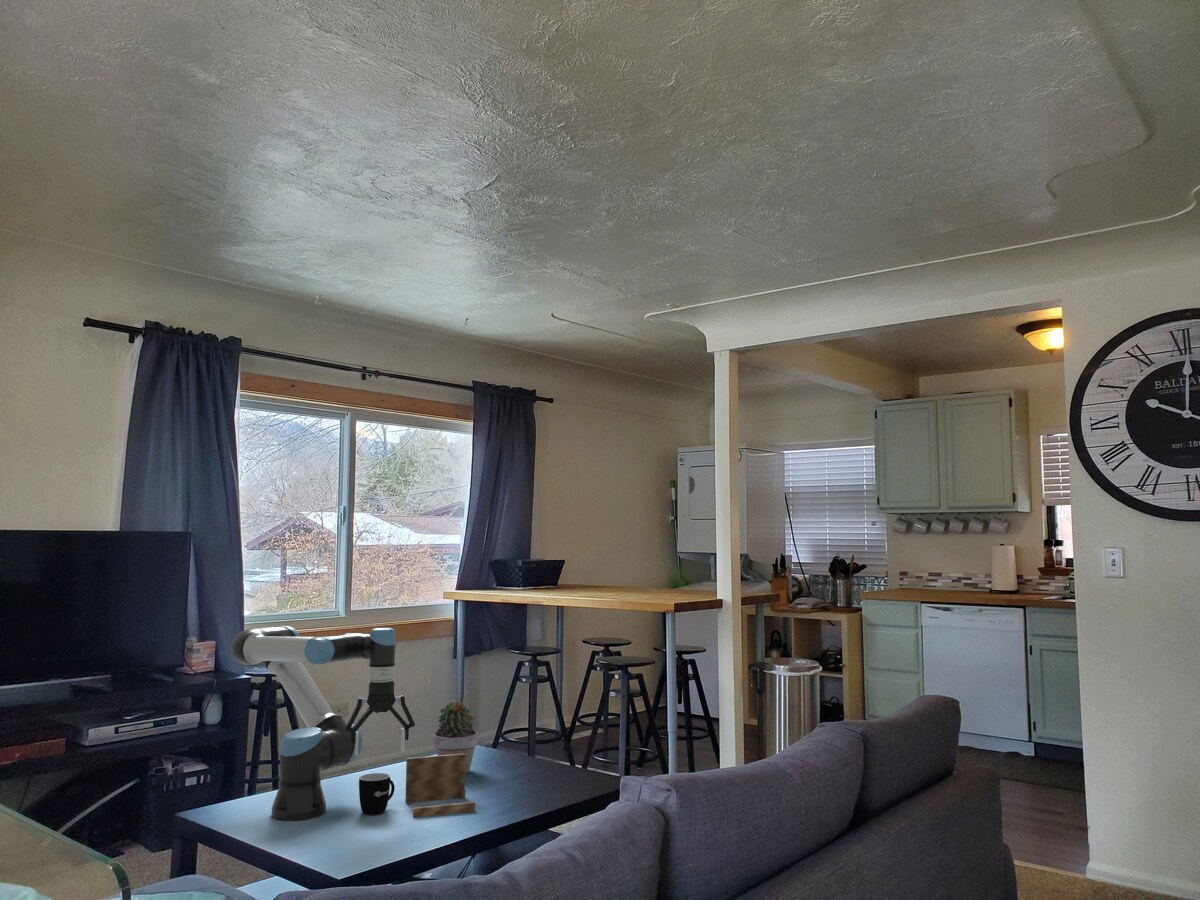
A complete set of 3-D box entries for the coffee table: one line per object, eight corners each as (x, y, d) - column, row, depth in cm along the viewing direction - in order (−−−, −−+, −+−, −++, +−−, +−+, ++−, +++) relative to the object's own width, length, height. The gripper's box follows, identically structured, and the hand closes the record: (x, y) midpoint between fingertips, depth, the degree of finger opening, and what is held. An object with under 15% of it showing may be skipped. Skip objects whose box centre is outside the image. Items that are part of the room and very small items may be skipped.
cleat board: (413, 817, 252) (414, 770, 253) (405, 801, 268) (406, 758, 269) (474, 811, 258) (475, 765, 259) (463, 796, 274) (464, 753, 275)
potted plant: (461, 762, 318) (463, 692, 321) (490, 772, 303) (491, 699, 306) (417, 770, 306) (418, 697, 309) (445, 781, 292) (446, 704, 294)
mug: (371, 818, 251) (373, 782, 252) (351, 813, 256) (352, 777, 257) (403, 808, 260) (404, 773, 262) (383, 803, 266) (384, 769, 267)
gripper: (339, 684, 255) (337, 759, 252) (425, 679, 264) (423, 752, 261) (337, 680, 262) (335, 753, 259) (421, 676, 271) (419, 747, 268)
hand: (379, 753), depth 260 cm, fingers open, 13 cm apart
